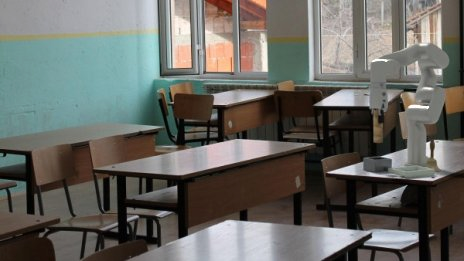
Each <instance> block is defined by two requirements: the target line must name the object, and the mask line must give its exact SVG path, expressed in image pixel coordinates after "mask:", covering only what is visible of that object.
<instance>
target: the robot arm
mask: <svg viewBox="0 0 464 261" xmlns="http://www.w3.org/2000/svg"><path fill="white" fill-rule="evenodd" d="M416 62H417V64H418V67H419V71H420V74H421V75H420V80H419V83H418V86H417V88H416V92H415V93H414V94H415V95H414V100H415V102H416V103H417V104H415V103H414V104H410V105H409V106H407V108H406V110H405V118H406V124H407V143H406V146H407V147H406V148H407V149H406V150H407V151H406V152H407V154H406V156H407V158H406V161H404V163H403V165H404V166H405V167H406V166H421V167H426V165H427V160H429V159H430V156H427V129H426V127H425V125H434V124H436V123H437V122H438V121H439V119H440V116H441V114H442V111H443V107H444V104H445V101H446V96H447V95H446V91H445V89H444V88H443V87H441V86H437V83H438V77H437V73H436V72H435V70H444V69H446V68H447V67H448V66H449V64H450V57H449V55H448V54H447V52H445V51H444V50H443V49H441V48H440V47H439V46H438V45H436V44H434V43H432V42H415V43H413V44H410V45H409V46H407V47H405V48H403V49H401V50H397V51H395V52H391V53H387V54H383V55H382V56H379V57H378V58H376V59H374V60H372V61H371V62H370V64H369V65H370V73H369V74H370V90H369V100H368V102H369V106H368V108H369V110H370V112H371V116H372V117H371V122H372V124H374V110H378V111H379V115H378V123H383V124H385V115H386V112H387V111H388V108H389V98H388V97H389V96H388V90H387V75H396V74H398V73H399V71H400V70H401V68H403V67H408V66H410V65H412V64H414V63H416ZM381 110H382V111H381Z"/></svg>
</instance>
